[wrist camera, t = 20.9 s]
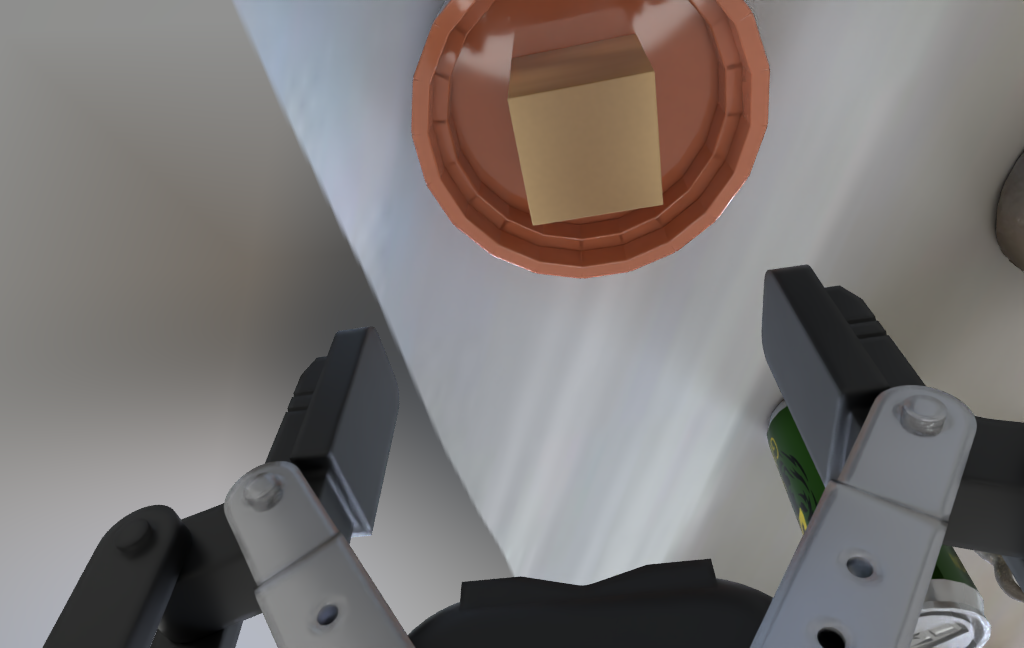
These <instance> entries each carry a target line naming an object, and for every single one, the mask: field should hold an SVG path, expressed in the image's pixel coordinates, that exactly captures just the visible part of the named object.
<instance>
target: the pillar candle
mask: <svg viewBox="0 0 1024 648" xmlns="http://www.w3.org/2000/svg"><path fill="white" fill-rule="evenodd" d="M996 234H997V239H998V243H999V245H1000V248H1001V250H1002V252H1003V254H1004V255H1005V256H1006V257H1007V258H1008V259H1009V261H1010V262H1012V263H1013V264H1014V265H1015V266H1017V267H1018V268H1019V269H1021V270H1022V271H1023V272H1024V152H1023V154H1022V155H1021V156H1020V158H1019V159H1018V160H1017V162H1016V163H1015V166H1014V168H1013V170H1012V171H1011V172H1010V175H1009V176H1008V179H1007V180H1006V182H1005V184H1004V187H1003V189H1002V191H1001V197H1000V200H999V204H998V207H997V224H996Z"/></svg>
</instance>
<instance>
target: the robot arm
mask: <svg viewBox="0 0 1024 648" xmlns="http://www.w3.org/2000/svg"><path fill="white" fill-rule="evenodd" d="M762 344H763V350H764V354H765V358H766V360H767V363H768V365H769V367H770V370H771V372H772V374H773V376H774V378H775V380H776V382H777V385H778V387H779V389H780V391H781V393H782V395H783V398H784V400H785V402H786V404H787V406H788V408H789V411H790V413H791V415H792V417H793V419H794V421H795V423H796V426H797V428H798V430H799V432H800V434H801V436H802V439H803V441H804V443H805V445H806V447H807V449H808V452H809V454H810V456H811V458H812V460H813V462H814V464H815V467H816V469H817V471H818V473H819V475H820V477H821V480H822V482H823V484H824V486H825V490H824V492H823V494H822V497H821V499H820V501H819V503H818V505H817V507H816V509H815V511H814V513H813V516H812V518H811V520H810V522H809V524H808V526H807V528H806V530H805V532H804V534H803V537H802V539H801V541H800V543H799V545H798V547H797V549H796V551H795V553H794V555H793V558H792V560H791V562H790V564H789V566H788V568H787V570H786V572H785V574H784V577H783V579H782V581H781V583H780V585H779V587H778V589H777V591H776V593H775V595H774V598H773V597H771V596H769V595H767V594H765V593H763V592H761V591H759V590H756V589H754V588H751V587H748V586H746V585H743V584H739V583H736V582H732V581H728V580H723V579H717V578H716V577H715V573H714V569H713V565H712V561H711V559H703V560H693V561H682V562H671V563H661V564H650V565H645V566H642V567H639V568H637V569H634V570H631V571H628V572H625V573H622V574H619V575H616V576H613V577H611V578H608V579H605V580H602V581H599V582H596V583H593V584H590V585H584V586H580V585H572V584H566V583H559V582H553V581H546V580H540V579H533V578H527V577H511V578H500V579H490V580H479V581H468V582H462V587H461V599H460V602H459V603H456V604H453V605H451V606H449V607H447V608H445V609H443V610H441V611H439V612H437V613H436V614H434V615H432V616H431V617H429V618H428V619H426V620H425V621H424V622H422V623H421V624H420V625H419V626H417V627H416V628H415V629H414V630H413V631H412V632H411V633H410V634H409V635H407V634H406V632H405V631H404V629H403V627H402V626H401V625H400V623H399V621H398V620H397V618H396V617H395V615H394V614H393V612H392V610H391V609H390V607H389V606H388V604H387V603H386V601H385V600H384V598H383V597H382V595H381V593H380V592H379V590H378V589H377V587H376V586H375V584H374V582H373V581H372V579H371V578H370V576H369V575H368V573H367V572H366V570H365V569H364V567H363V565H362V564H361V562H360V561H359V559H358V557H357V556H356V554H355V553H354V551H353V550H352V548H351V547H350V545H349V544H350V540H351V537H358V536H369V535H372V531H373V526H374V521H375V516H376V512H377V507H378V503H379V498H380V494H381V489H382V484H383V480H384V475H385V470H386V466H387V461H388V456H389V452H390V447H391V443H392V438H393V433H394V429H395V424H396V420H397V415H398V410H399V389H398V384H397V381H396V378H395V375H394V373H393V370H392V367H391V365H390V362H389V360H388V357H387V355H386V352H385V349H384V347H383V344H382V342H381V339H380V337H379V334H378V332H377V330H376V329H375V328H374V327H364V328H357V329H350V330H343V331H338V332H337V333H336V334H335V337H334V339H333V342H332V345H331V347H330V350H329V353H328V356H326V357H319V358H316V359H315V361H314V362H313V363H312V364H311V365H310V366H309V367H308V368H307V369H306V370H305V371H304V373H303V374H302V375H301V377H300V379H299V382H298V384H297V386H296V389H295V391H294V397H292V399H291V401H290V403H289V406H288V412H286V414H285V416H284V418H283V421H282V423H281V425H280V428H279V430H278V433H277V435H276V438H275V440H274V443H273V445H272V447H271V450H270V452H269V455H268V458H267V460H266V462H265V464H263V465H260V466H258V467H256V468H254V469H252V470H251V471H249V472H247V473H246V474H245V475H243V476H242V477H241V478H240V479H239V480H238V481H237V482H236V483H235V484H234V485H233V487H232V488H231V489H230V491H229V492H228V494H227V496H226V499H225V503H223V504H221V505H218V506H216V507H213V508H211V509H208V510H206V511H203V512H200V513H197V514H195V515H192V516H190V517H187V518H184V519H182V520H181V519H180V518H179V516H178V515H177V514H176V513H175V511H174V510H173V509H171V508H170V507H168V506H165V505H153V506H148V507H144V508H142V509H139V510H137V511H135V512H132V513H131V514H129V515H127V516H126V517H124V518H123V519H121V520H120V521H119V522H117V523H116V524H115V525H114V526H113V527H112V528H111V529H110V530H109V531H108V532H107V533H106V534H105V535H104V537H103V538H102V539H101V541H100V543H99V544H98V546H97V548H96V549H95V551H94V553H93V555H92V557H91V559H90V561H89V563H88V564H87V566H86V568H85V570H84V572H83V574H82V575H81V577H80V579H79V581H78V583H77V585H76V587H75V589H74V590H73V592H72V594H71V596H70V598H69V600H68V601H67V604H66V605H65V607H64V609H63V611H62V613H61V614H60V616H59V618H58V620H57V622H56V624H55V626H54V627H53V629H52V631H51V633H50V635H49V637H48V639H47V640H46V642H45V644H44V646H43V648H235V646H236V643H237V640H238V636H239V633H240V630H241V626H242V623H243V620H246V619H248V618H251V617H253V616H256V615H258V614H261V613H263V615H264V617H265V619H266V622H267V624H268V626H269V628H270V630H271V633H272V635H273V638H274V640H275V642H276V644H277V647H278V648H910V645H911V642H912V639H913V635H914V632H915V629H916V626H917V622H918V619H919V616H920V613H921V610H922V606H923V603H924V600H925V597H926V593H927V590H928V587H929V584H930V581H931V577H932V574H933V571H934V568H935V565H936V561H937V558H938V555H939V552H940V548H941V545H947V546H953V547H959V548H964V549H970V550H976V551H982V552H987V553H993V554H999V555H1002V557H1003V559H1004V560H1005V562H1006V564H1007V566H1008V567H1009V569H1010V571H1011V572H1012V574H1013V576H1014V577H1015V579H1016V581H1017V583H1018V584H1019V586H1020V588H1021V589H1022V591H1023V593H1024V423H1021V422H1012V421H1003V420H994V419H987V418H982V417H977V416H974V414H973V413H972V411H971V410H970V409H969V408H968V407H967V406H966V405H965V404H964V403H963V402H962V401H960V400H959V399H957V398H956V397H954V396H952V395H950V394H948V393H946V392H944V391H941V390H938V389H935V388H931V387H926V386H925V384H924V383H923V381H922V380H921V379H920V377H919V376H918V375H917V373H916V372H915V371H914V369H913V368H912V366H911V365H910V364H909V362H908V361H907V360H906V358H905V357H904V355H903V354H902V353H901V351H900V350H899V349H898V347H897V346H896V345H895V343H894V342H893V340H892V339H891V338H890V336H889V335H886V331H885V330H884V328H883V327H882V325H881V324H880V323H879V321H876V319H875V316H874V314H873V313H872V312H871V310H870V309H869V308H868V306H867V305H866V304H865V302H864V301H863V299H861V298H859V297H858V296H856V295H854V294H853V293H851V292H849V291H848V290H846V289H845V288H843V287H841V286H834V287H827V288H824V286H823V285H822V283H821V282H820V280H819V279H818V277H817V276H816V274H815V273H814V271H813V270H812V268H811V267H810V266H809V265H800V266H793V267H786V268H779V269H772V270H768V271H767V272H766V274H765V279H764V296H763V315H762ZM157 628H158V629H157ZM155 633H156V634H155ZM153 638H154V639H153ZM151 643H152V644H151Z"/></svg>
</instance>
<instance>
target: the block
mask: <svg viewBox="0 0 1024 648" xmlns="http://www.w3.org/2000/svg"><path fill="white" fill-rule="evenodd" d="M507 100H508V105H509V110H510V115H511V120H512V125H513V130H514V135H515V140H516V145H517V150H518V155H519V160H520V165H521V170H522V175H523V180H524V185H525V190H526V195H527V200H528V205H529V210H530V215H531V220H532V224H533V225H540V224H546V223H553V222H559V221H565V220H571V219H577V218H584V217H590V216H596V215H602V214H608V213H615V212H621V211H627V210H633V209H639V208H646V207H652V206H658V205H663V193H662V177H661V162H660V146H659V131H658V115H657V100H656V84H655V71H654V69H653V67H652V65H651V63H650V61H649V59H648V57H647V55H646V53H645V51H644V49H643V47H642V45H641V43H640V41H639V39H638V37H637V35H636V34H632V35H627V36H621V37H616V38H611V39H606V40H601V41H596V42H591V43H586V44H581V45H576V46H571V47H566V48H561V49H556V50H551V51H546V52H541V53H536V54H531V55H526V56H521V57H516V58H512V60H511V70H510V79H509V89H508V99H507Z"/></svg>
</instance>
